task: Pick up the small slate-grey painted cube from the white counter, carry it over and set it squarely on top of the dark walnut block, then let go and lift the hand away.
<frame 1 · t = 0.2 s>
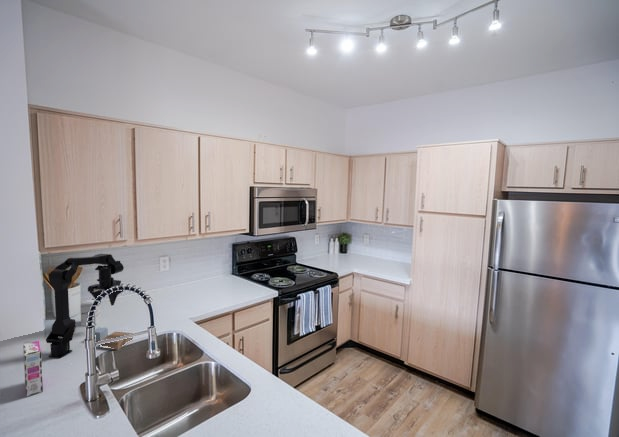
hand: (105, 304, 167), 14 cm above the countertop, tool pointing down, fingers open, 9 cm apart
walnut block: (116, 344, 152), on the countertop
candy bar box: (34, 388, 118), on the countertop
slate cube: (99, 339, 157), on the countertop
supplement box: (91, 323, 175), on the countertop
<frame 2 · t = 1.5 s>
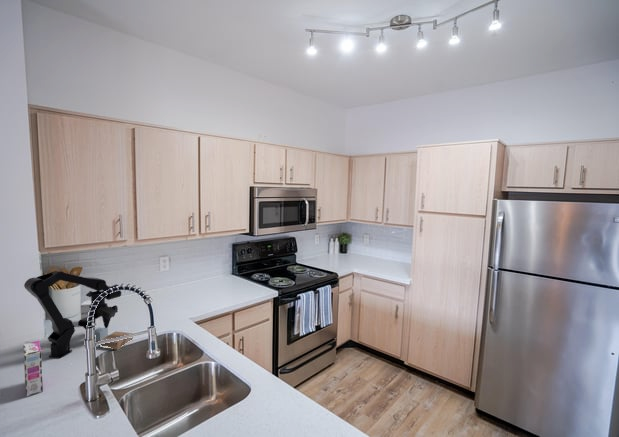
hand: (99, 332, 156), 4 cm above the countertop, tool pointing down, fingers open, 9 cm apart
nothing on the countertop moved.
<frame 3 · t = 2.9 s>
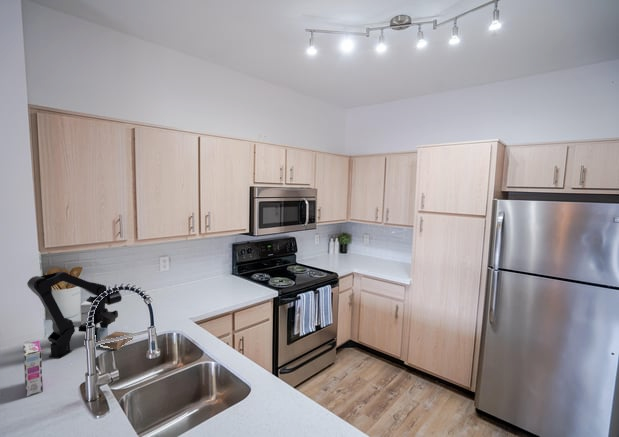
hand: (99, 337, 157), 1 cm above the countertop, tool pointing down, fingers closed on slate cube, 5 cm apart
slate cube: (99, 339, 157), on the countertop, touching gripper
everything else where it was.
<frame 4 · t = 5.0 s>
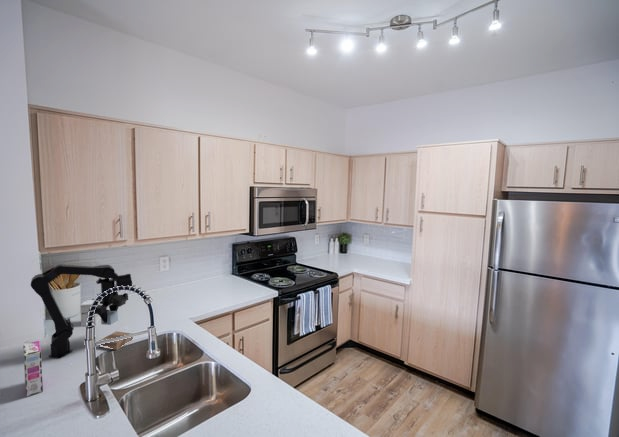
hand: (109, 320, 153), 11 cm above the countertop, tool pointing down, fingers closed on slate cube, 5 cm apart
slate cube: (109, 322, 153), point 10 cm above the countertop, touching gripper
everything else where it was.
when the fingers open (6 cm above the countertop, at t = 7.1 s): slate cube drops 2 cm, resting on walnut block.
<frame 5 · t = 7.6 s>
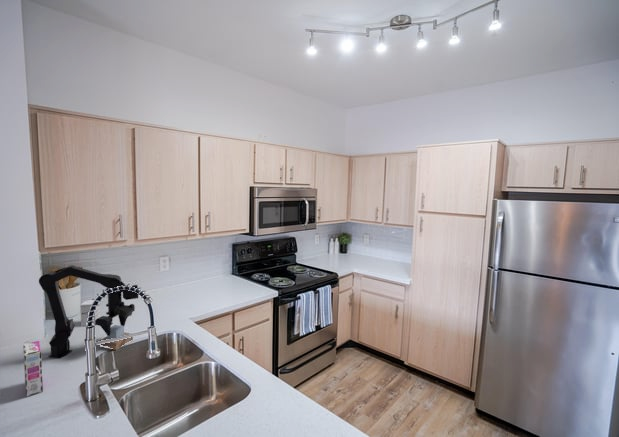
hand: (115, 331, 152), 6 cm above the countertop, tool pointing down, fingers open, 9 cm apart
walnut block: (116, 344, 152), on the countertop, touching slate cube
slate cube: (115, 337, 152), point 4 cm above the countertop, touching walnut block
everything else where it was.
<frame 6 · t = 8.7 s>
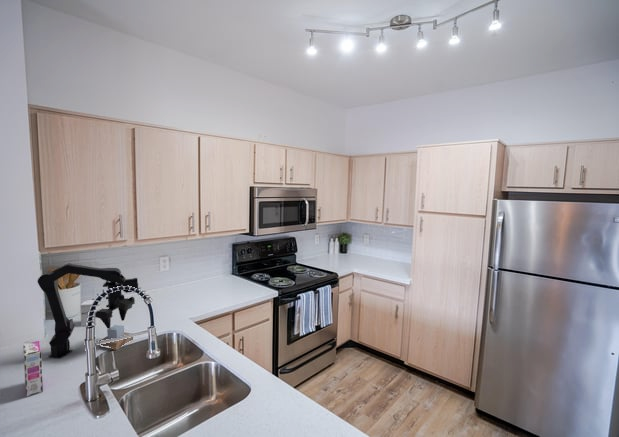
hand: (116, 324, 151), 10 cm above the countertop, tool pointing down, fingers open, 9 cm apart
walnut block: (116, 344, 152), on the countertop
slate cube: (116, 337, 152), point 4 cm above the countertop
everything else where it was.
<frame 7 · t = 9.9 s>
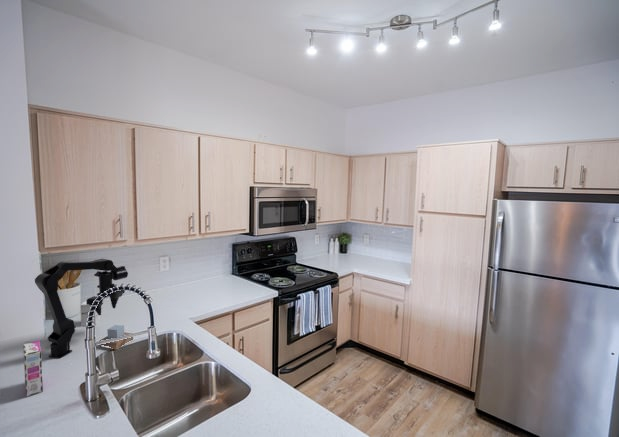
hand: (107, 311, 160), 13 cm above the countertop, tool pointing down, fingers open, 9 cm apart
walnut block: (116, 344, 153), on the countertop, touching slate cube
slate cube: (116, 337, 152), point 4 cm above the countertop, touching walnut block
everything else where it was.
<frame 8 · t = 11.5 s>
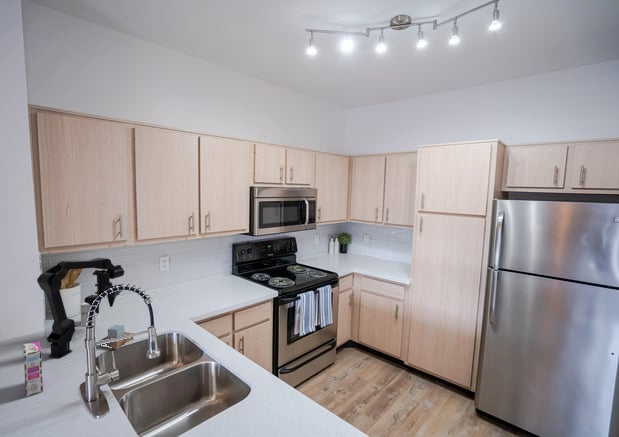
hand: (104, 310, 162), 13 cm above the countertop, tool pointing down, fingers open, 9 cm apart
nothing on the countertop moved.
at the end: slate cube 0.4 cm off-centre on the walnut block, point 4.0 cm above the walnut block's base; slate cube tilted 0°; the gripper is holding nothing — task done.
